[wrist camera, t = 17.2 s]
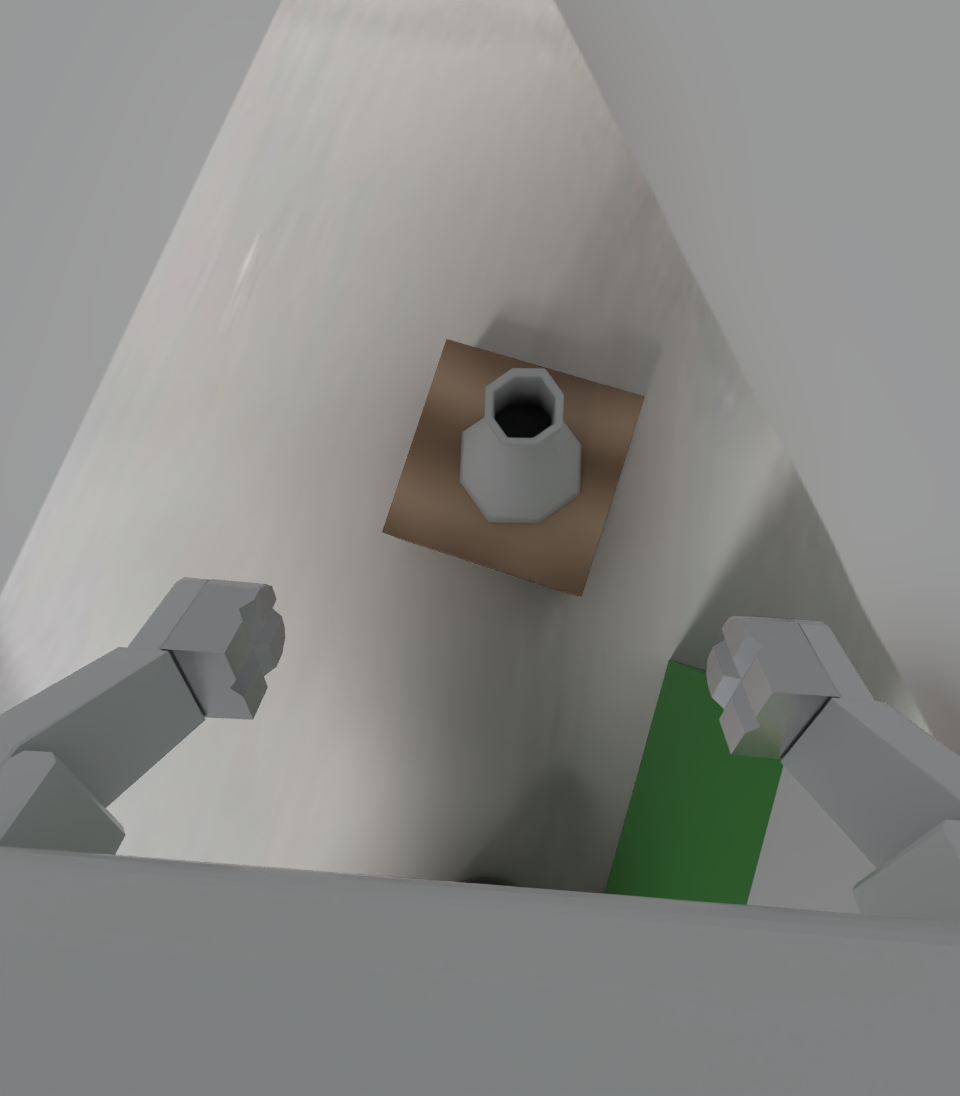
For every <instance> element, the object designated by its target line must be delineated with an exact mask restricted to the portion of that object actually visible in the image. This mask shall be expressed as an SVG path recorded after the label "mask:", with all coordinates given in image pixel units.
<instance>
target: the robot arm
mask: <svg viewBox="0 0 960 1096" xmlns="http://www.w3.org/2000/svg"><path fill="white" fill-rule="evenodd" d="M276 600H277V599H276V596H275V593H274V591H273V588H272V586H270V585H267V584H258V583H247V582H236V581H225V580H214V579H212V580H209V579H198V578H187V577H185V578H183V579H181V580H179V581H177V582H176V583H175V584H174V586H173V587H172V588H171V590H170V591H169V592H168V594H167V595H166V596H165V598H164V599H163V600H162V602H161V603H160V604H159V606H158V607H157V608H156V610H155V611H154V612H153V614H152V615H151V616H150V618H149V619H148V620H147V622H146V623H145V624H144V626H143V627H142V629H141V630H140V631H139V633H138V634H137V635H136V637H135V638H134V639H133V641H132V642H131V643H130V645H129V646H128V647H127V648H122V647H118V648H116V649H115V650H113V651H111V652H109V653H108V654H106V655H104V656H102V657H101V658H99V659H97V660H95V661H94V662H92V663H90V664H88V665H87V666H85V667H83V668H81V669H80V670H78V671H76V672H74V673H73V674H71V675H69V676H67V677H66V678H64V679H62V680H60V681H59V682H57V683H55V684H53V685H52V686H50V687H48V688H46V689H45V690H43V691H41V692H39V693H38V694H36V695H34V696H33V697H31V698H29V699H27V700H26V701H24V702H22V703H20V704H19V705H17V706H15V707H13V708H12V709H10V710H8V711H6V712H5V713H3V714H1V715H0V1096H960V756H958V755H957V754H956V753H954V752H953V751H951V750H950V749H949V748H947V747H946V746H945V745H943V744H942V743H940V742H939V741H938V740H936V739H935V738H934V737H932V736H931V735H930V734H928V733H927V732H925V731H924V730H923V729H921V728H920V727H919V726H917V725H916V724H915V723H913V722H912V721H910V720H909V719H908V718H906V717H905V716H904V715H902V714H901V713H899V712H898V711H897V710H895V709H894V708H893V707H891V706H890V705H888V704H887V703H886V702H882V701H875V700H874V698H873V697H872V695H871V693H870V692H869V690H868V688H867V687H866V685H865V684H864V682H863V680H862V679H861V677H860V676H859V674H858V672H857V671H856V669H855V667H854V666H853V664H852V663H851V661H850V659H849V658H848V656H847V654H846V653H845V651H844V650H843V648H842V646H841V645H840V643H839V642H838V640H837V638H836V637H835V635H834V633H833V632H832V630H831V629H830V627H829V626H828V625H827V624H825V623H824V622H823V621H817V620H800V619H790V620H789V619H783V618H766V617H749V616H731V617H730V618H729V619H727V620H726V622H725V624H724V626H723V628H722V630H721V631H722V633H723V636H724V638H725V640H723V641H721V642H720V643H718V644H716V645H715V646H713V648H712V650H711V652H710V654H709V657H708V659H707V670H706V676H707V683H708V687H709V690H710V694H711V697H712V698H713V699H714V700H715V701H716V702H717V703H718V704H719V705H720V706H721V707H722V708H724V710H723V713H722V715H721V717H720V719H719V721H720V724H721V727H722V730H723V733H724V736H725V739H726V742H727V744H728V747H729V750H730V753H731V755H741V756H751V757H761V758H771V759H781V763H782V764H783V765H784V766H785V768H786V769H787V770H788V771H789V772H790V773H791V774H792V775H793V776H794V778H795V779H796V780H797V781H798V782H799V783H800V784H801V785H802V786H803V787H804V789H805V790H806V791H807V792H808V793H809V794H810V795H811V796H812V797H813V799H814V800H815V801H816V802H817V803H818V804H819V805H820V806H821V807H822V809H823V810H824V811H825V812H826V813H827V814H828V815H829V816H830V817H831V819H832V820H833V821H834V822H835V823H836V824H837V825H838V826H839V827H840V829H841V830H842V831H843V832H844V833H845V834H846V835H847V836H848V837H849V839H850V840H851V841H852V842H853V843H854V844H855V845H856V846H857V847H858V849H859V850H860V851H861V852H862V853H863V854H864V855H865V856H866V857H867V858H868V860H869V861H870V862H871V863H872V864H873V865H874V866H875V867H876V868H877V869H875V870H874V871H873V872H871V873H870V874H868V875H867V876H866V877H864V878H863V879H861V880H860V881H859V882H857V883H856V885H855V886H854V888H853V890H852V893H853V896H854V898H855V901H856V903H857V905H858V908H859V910H860V912H861V914H855V913H842V912H830V911H817V910H804V909H792V908H779V907H767V906H754V905H741V904H729V903H716V902H704V901H691V900H678V899H666V898H653V897H641V896H628V895H615V894H603V893H590V892H578V891H565V890H552V889H540V888H527V887H515V886H502V885H489V884H477V883H464V882H452V881H439V880H426V879H414V878H401V877H389V876H376V875H363V874H351V873H338V872H325V871H313V870H300V869H287V868H275V867H262V866H249V865H237V864H224V863H211V862H199V861H186V860H173V859H161V858H148V857H135V856H122V855H115V853H116V852H117V850H118V848H119V846H120V844H121V842H122V840H123V838H124V837H125V832H124V828H123V826H122V825H121V824H120V823H119V822H118V821H117V820H116V819H115V817H114V816H113V815H112V814H111V813H110V812H109V811H108V810H107V809H106V807H107V806H108V805H110V804H111V803H112V802H113V801H114V800H115V799H116V798H117V797H119V796H120V795H121V794H122V793H123V792H124V791H125V790H127V789H128V788H129V787H130V786H131V785H132V784H133V783H134V782H136V781H137V780H138V779H139V778H140V777H141V776H142V775H143V774H145V773H146V772H147V771H148V770H149V769H150V768H151V767H153V766H154V765H155V764H156V763H157V762H158V761H159V760H160V759H162V758H163V757H164V756H165V755H166V754H167V753H168V752H169V751H171V750H172V749H173V748H174V747H175V746H176V745H177V744H179V743H180V742H181V741H182V740H183V739H184V738H185V737H186V736H188V735H189V734H190V733H191V732H192V731H193V730H194V729H195V728H197V727H198V726H199V725H200V724H201V723H202V722H203V721H205V718H204V717H212V718H233V719H254V716H255V714H256V712H257V710H258V708H259V705H260V703H261V701H262V699H263V696H264V694H265V692H266V690H267V684H266V681H265V678H264V676H265V675H266V674H267V673H269V672H270V671H271V670H273V669H274V668H275V667H277V665H278V662H279V660H280V657H281V655H282V652H283V646H284V641H285V627H284V623H283V619H282V616H281V615H279V614H278V613H277V612H276V611H275V610H273V609H272V608H273V606H274V604H275V602H276Z"/></svg>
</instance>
